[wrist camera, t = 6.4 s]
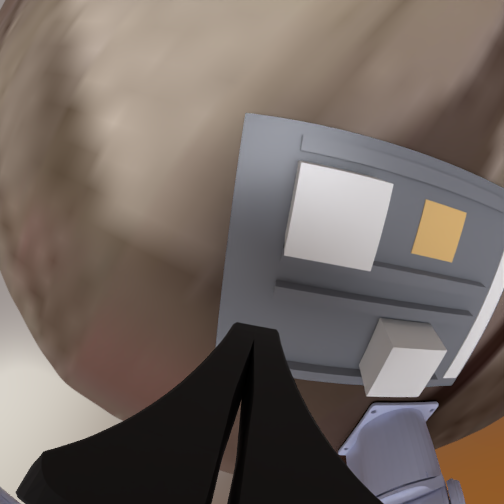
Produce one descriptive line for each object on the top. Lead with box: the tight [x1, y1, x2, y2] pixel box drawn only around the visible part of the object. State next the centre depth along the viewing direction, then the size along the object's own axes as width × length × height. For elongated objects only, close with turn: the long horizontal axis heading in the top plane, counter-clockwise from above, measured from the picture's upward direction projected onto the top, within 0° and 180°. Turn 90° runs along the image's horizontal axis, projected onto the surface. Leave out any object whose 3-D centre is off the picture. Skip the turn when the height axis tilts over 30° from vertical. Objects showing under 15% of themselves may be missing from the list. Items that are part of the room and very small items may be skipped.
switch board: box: [216, 113, 504, 387], centre depth 16 cm, size 16×20×3 cm
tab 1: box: [284, 160, 394, 271], centre depth 13 cm, size 4×4×3 cm
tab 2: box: [359, 318, 447, 397], centre depth 15 cm, size 4×4×3 cm
